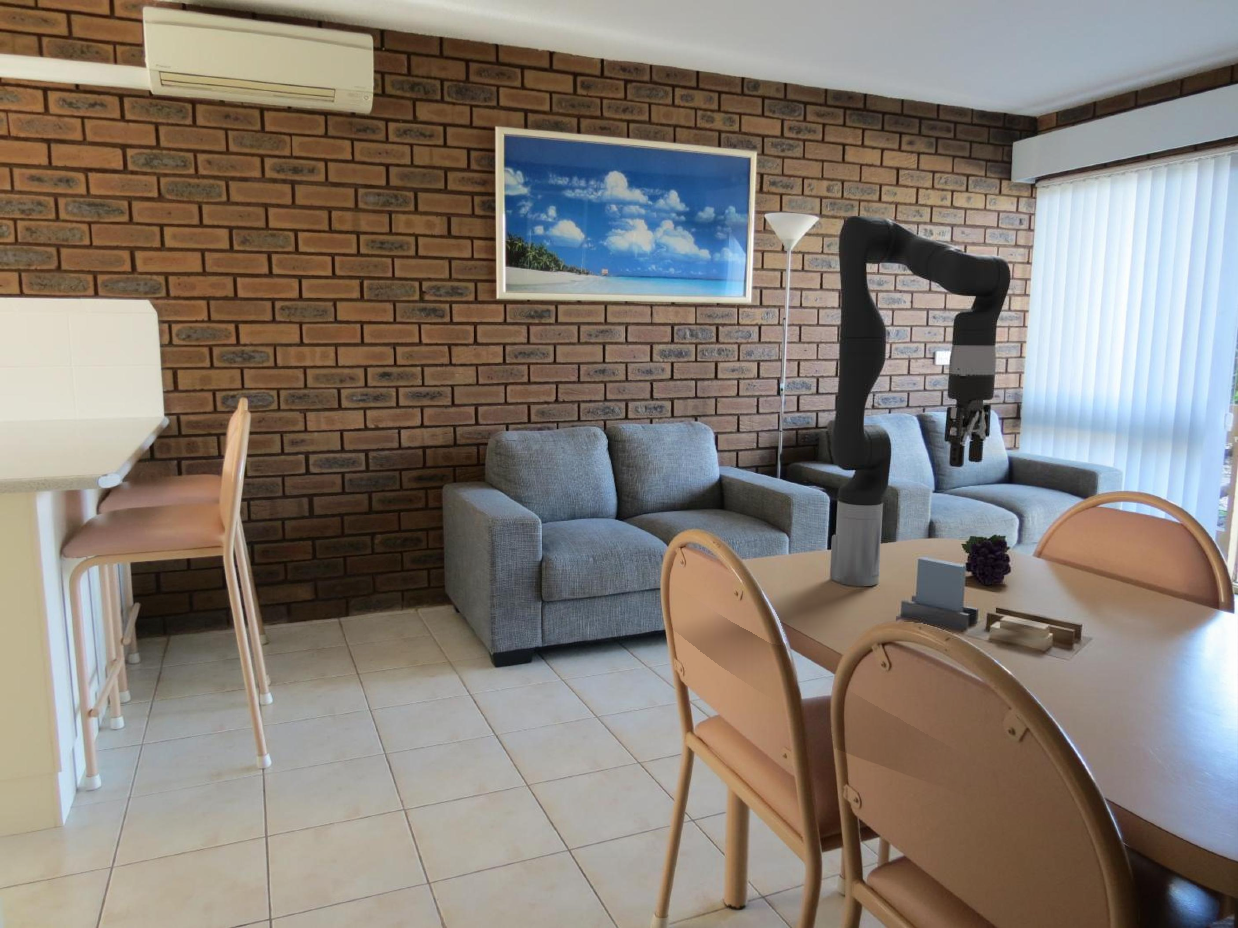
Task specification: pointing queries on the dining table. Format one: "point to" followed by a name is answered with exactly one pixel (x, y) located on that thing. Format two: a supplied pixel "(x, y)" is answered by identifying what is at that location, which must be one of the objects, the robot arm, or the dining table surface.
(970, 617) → the stand
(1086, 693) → the dining table surface
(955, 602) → the tall sheet
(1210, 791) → the dining table surface
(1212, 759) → the dining table surface
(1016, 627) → the offcut stack
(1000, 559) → the fruit
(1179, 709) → the dining table surface
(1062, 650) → the offcut rack
